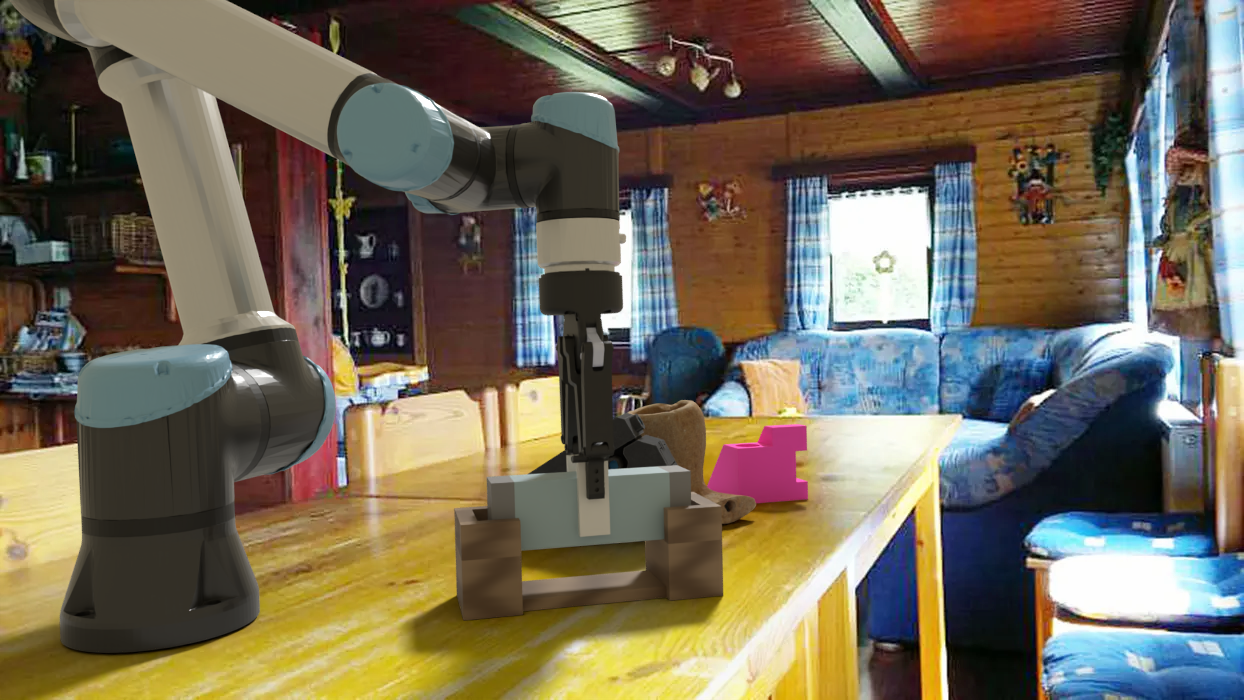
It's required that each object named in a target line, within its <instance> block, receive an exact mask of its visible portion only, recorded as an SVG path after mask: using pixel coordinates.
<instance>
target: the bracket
mask: <svg viewBox="0 0 1244 700" xmlns="http://www.w3.org/2000/svg"><path fill="white" fill-rule="evenodd" d="M807 427H808V426H807V425H804V424H799V423H795V424H794V423H793V424H778V425H777V424H776V425H764V426H763V428H762V431H761V434H760V435H759V438H758V439H757V442H742V443H728V444H727V443H726V444H723V445H722V447H721V451H720V452H719V455H718V457H717V460H716V463H715V465H714V468H713V470H712V473H711V476H710V477H709V480H708V483H707V484H706V486H707V487H708V488H709V489H711V490H713V491H715V492H719V493H726V494H734V495H743V496H749V497H752V498H754V499H755V502H756V504H763V503H764V504H765V503H776V502H789V501H799V500H800V501H801V500H802V501H803V500H804V501H805V500H808V499H809V483H808V480H805V479H802V478H798V477H797V452H802V451H803V452H805V451H808V433H807V432H808V429H807Z"/></svg>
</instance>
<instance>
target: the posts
mask: <svg viewBox="0 0 1244 700" xmlns="http://www.w3.org/2000/svg"><path fill="white" fill-rule="evenodd" d="M453 511H454V539H455V541H454V542H455V543H454V544H455V546H454V547H455V551H454V552H455V579H456V581H455V583H456V584H455V585H456V598H457V601H458V606H459V608H460V613H461V617H462V620H463V621H471V620H481V619H493V618H501V617H513V616H523V614H524V612H527V611H528V612H529V611H539V610H540V611H541V610H549V609H550V610H551V609H559V608H561V609H562V608H569V607H570V608H571V607H579V606H580V607H581V606H590V605H591V606H592V605H600V604H601V605H603V604H610V603H611V604H613V603H622V602H623V603H625V602H631V601H632V602H634V601H643V600H655V599H665V598H666V599H667V600H669V601H679V600H689V599H699V598H708V597H709V598H710V597H718V596H719V597H720V596H724V570H723V569H724V563H723V560H724V559H723V524H722V512H721V506H720V505H718V504H716V503H714V502H712V501H710V500H708V499H706V498H704V497H702V496H700V495H698V494H697V493H695V492H691V506H679V507H665V508H664V539H661V540H648V541H644V549H645V551H644V558H645V561H644V562H645V570H635V571H623V572H611V573H601V574H589V575H578V576H577V575H576V576H567V577H565V576H564V577H555V578H544V579H533V580H523V572H522V571H523V569H522V551H521V524H520V520H519V518H512V519H498V520H488V510H487V505H483V506H468V507H467V506H466V507H454V509H453Z"/></svg>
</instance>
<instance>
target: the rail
mask: <svg viewBox="0 0 1244 700" xmlns="http://www.w3.org/2000/svg"><path fill="white" fill-rule="evenodd" d="M608 477H609V507H610V534H608V535H596V536H585V537H580V536H579V531H578V502H577V472H576V471H575V472H558V473H542V474H528V473H527V474H525V473H524V474H513V475H512V474H510V475H497V476H496V475H495V476H486V501H487V502H486V506H487V510H488V520H498V519H512V518H519V520H520V524H521V552H523V551H533V550H545V549H546V550H547V549H559V548H560V549H561V548H571V547H580V546H581V547H583V546H584V547H585V546H594V545H596V546H597V545H609V544H619V543H620V544H621V543H633V542H634V543H635V542H645V541H648V540H661V539H664V508H665V507H679V506H691V471H689V470H687V469H685V468H682V467H680V466H678V465H674V466H657V467H641V468H624V469H608Z"/></svg>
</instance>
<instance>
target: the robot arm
mask: <svg viewBox="0 0 1244 700" xmlns="http://www.w3.org/2000/svg"><path fill="white" fill-rule="evenodd" d="M9 2H10V4H11V5H12V6H13V7H14V9H16V10H17V12H19V14H21V16H23V17H24V18H25V19H27V20H28V21H29V22H30V23H31V24H33V25H34V26H36V27H38V28H40V29H41V30H43V31H45V32H47V33H49V34H51V35H53V36H56V37H59V38H61V39H62V40H65V41H68V42H69V43H70V42H71V43H72V44H76V45H78V46H81V47H83V48H87V50H88V52H89V54H90V58H91V61H92V65H93V69H94V72H95V76H96V79H97V82H98V83H97V84H98V87H99V89H100V91H101V92H102V93H103V94H105V96H107V97H109V98H112V99H113V100H115V101H117V102H118V103H120V104H121V107H122V110H123V115H124V118H125V122H126V126H127V129H128V134H129V136H130V140H131V144H132V148H133V151H134V154H135V158H136V162H137V165H138V170H139V173H140V177H141V180H142V183H143V184H142V185H143V188H144V192H145V196H146V200H147V202H148V206H149V211H150V214H151V217H152V221H153V225H154V228H155V232H156V237H157V240H158V243H159V247H160V250H161V255H162V258H163V262H164V266H165V269H166V273H167V277H168V280H169V283H170V288H171V292H172V295H173V299H174V302H175V307H176V310H177V313H178V317H179V321H180V325H181V328H182V333H183V335H182V338H181V340H180V342H179V343H178V345H167V346H165V345H164V346H163V345H162V346H157V347H152V348H140V349H139V348H138V349H132V350H125V351H120V352H115V353H111V354H106V355H103V356H100V357H97V358H93V359H91V360H90V361H89V362H87V363H86V364H85V365H84V366H83V367H82V368H81V369H80V371H79V372H78V373H79V374H78V376H77V388H76V393H77V394H76V397H77V398H76V404H75V406H74V412H73V413H74V418H75V420H76V421H75V422H76V440H77V442H76V443H77V457H78V458H77V459H78V461H77V462H78V480H79V484H78V485H79V496H80V497H79V502H80V503H79V504H80V516H81V517H80V518H81V544H80V547H79V551H78V555H77V558H76V559H75V560H76V561H75V564H74V567H73V570H72V573H71V577H70V579H69V583H68V586H67V589H66V592H65V595H64V599H63V600H62V604H61V607H60V612H59V631H60V632H59V633H60V636H59V637H60V642H61V644H62V645H63V646H65V647H67V648H69V649H72V650H76V651H82V652H88V653H89V652H90V653H101V654H102V653H103V654H104V653H105V654H107V653H108V654H109V653H110V654H111V653H114V654H115V653H117V654H118V653H130V652H131V653H134V652H135V653H136V652H144V651H145V652H146V651H154V650H163V649H168V648H174V647H179V646H184V645H190V644H194V643H197V642H198V643H199V642H202V641H205V640H210V639H213V638H217V637H220V636H222V635H225V634H229V633H231V632H233V631H236V630H239V629H241V628H242V627H245V626H247V625H248V624H250V623H251V622H253V621H254V620H256V618H257V617H258V616H259V614H260V613H261V603H260V602H261V601H260V587H259V584H258V581H257V578H256V575H255V574H254V571H253V568H252V565H251V562H250V561H249V560H250V559H249V557H248V556H247V553H246V550H245V548H244V545H243V542H242V540H241V538H240V535H239V532H238V530H237V525H236V514H235V510H236V509H235V483H237V482H241V481H244V480H248V479H253V478H255V477H260V476H263V475H264V476H267V475H274V474H276V473H279V472H285V471H286V470H288V469H291V468H292V467H293V466H296V465H299V464H301V463H304V461H306V460H308V459H309V458H311V457H312V456H313V455H315V454H316V453H317V452H318V451H319V450H320V449H321V448H322V446H323V445H324V444H325V442H326V440H327V438H328V436H329V434H330V433H331V431H332V429H333V425H334V422H335V419H336V418H335V417H336V409H337V407H336V406H337V405H336V404H337V403H336V400H337V399H336V394H335V389H334V387H333V384H332V381H331V380H330V379H331V378H330V377H329V376H328V374H327V373H326V371H325V370H324V369H323V368H322V367H321V366H320V365H319V364H316V363H315V362H314V361H313V360H312V359H310V358H309V357H307V356H305V355H303V351H302V347H301V343H300V341H299V336H298V334H297V330H296V328H295V325H294V324H291V323H290V322H288V321H286V320H285V319H283V318H281V317H279V316H278V314H276V312H275V310H274V307H273V303H272V300H271V296H270V292H269V287H268V285H267V281H266V278H265V273H264V270H263V266H262V262H261V259H260V257H259V256H260V255H259V251H258V247H257V244H256V242H255V237H254V234H253V231H252V226H251V223H250V219H249V215H248V211H247V207H246V205H245V201H244V197H243V193H242V190H241V186H240V183H239V179H238V175H237V171H236V167H235V163H234V161H233V157H232V153H231V149H230V147H229V142H228V139H227V135H226V131H225V128H224V123H223V119H222V116H221V113H220V109H219V106H218V102H217V99H219V100H221V101H223V102H225V103H226V104H228V105H230V106H233V107H234V108H236V109H238V110H240V111H242V112H245V113H246V114H248V115H250V116H252V117H254V118H256V119H258V120H260V121H262V122H263V123H266V124H268V125H270V126H272V127H274V128H276V129H278V130H279V131H282V132H284V133H286V134H287V135H289V136H292V137H293V138H296V139H297V140H299V141H302V142H303V143H305V144H307V145H309V146H311V147H313V148H315V149H317V150H319V151H321V152H322V153H325V154H327V155H329V156H330V157H333V158H334V159H337V160H339V161H340V162H342V163H344V164H345V165H346V166H349V167H350V168H351V169H352V170H353V171H354V173H356V174H358V175H359V176H361V177H363V178H364V179H366V180H367V181H369V182H370V183H373V184H375V185H377V186H379V187H382V188H384V189H387V190H390V191H395V192H402V193H405V196H406V197H407V199H408V200H409V201H411V203H412V206H413V207H414V209H416V210H417V211H418V212H421V213H424V214H447V215H450V216H454V215H459V214H460V213H471V212H472V213H473V212H483V211H497V210H498V211H499V210H509V209H520V208H521V209H530V208H535V210H536V214H535V215H536V222H535V223H536V224H535V227H536V229H535V230H536V231H535V233H536V252H537V253H536V255H537V257H536V258H537V266H538V267H539V269H544V272H543V273H541V275H540V277H538V294H539V295H538V298H539V299H538V300H539V301H538V302H539V311H540V313H541V314H542V315H543V316H563V319H564V320H563V327H562V330H563V331H562V335H561V336H560V335H558V337H557V342H556V345H555V350H556V353H557V362H558V363H557V364H558V381H559V403H560V404H559V408H560V409H559V410H560V411H559V412H560V429H561V430H560V431H561V433H560V434H561V435H560V441H561V444H562V445H564V450H566V453H567V454H568V453H571V455H566V461H567V472H575V471H576V472H577V502H578V531H579V536H580V537H585V536H596V535H608V534H610V507H609V477H608V460H609V457H610V456H613V454H614V440H613V419H614V411H613V409H614V408H613V406H614V405H613V404H614V403H613V401H614V400H613V373H612V372H613V371H612V370H613V355H614V353H613V352H614V350H615V347H614V345H613V342H612V341H611V340H609V337H608V336H609V335H608V334H604V329H603V321H602V320H603V319H602V318H601V317H602V315H611V314H618V313H621V312H622V310H623V308H624V299H623V298H624V293H623V292H624V291H623V275H621V273H620V272H619V271H615V267H619V265H620V264H621V263H622V256H621V254H622V253H621V249H622V248H621V247H622V246H621V245H623V244H625V243H626V241H627V235H626V234H625V233H621V232H620V229H621V224H620V222H621V219H620V218H621V216H620V214H621V213H620V185H619V184H620V181H619V180H620V179H619V177H620V175H619V174H620V173H619V170H620V169H619V166H620V165H619V163H620V162H619V159H620V158H619V156H620V155H619V153H620V147H619V146H618V135H617V134H618V133H617V125H616V124H617V123H616V112H615V107H614V105H613V103H611V101H609V100H608V99H607V98H606V97H605V96H602V95H599V94H595V93H590V92H584V91H583V92H582V91H580V92H579V91H565V92H557V93H553V94H552V95H549V94H548V95H544V96H541V97H539V98H538V99H537V100H536V101H535V102H534V104H533V107H532V114H531V117H530V121H531V122H527V123H526V122H524V123H521V124H514V125H501V126H499V125H497V126H486V127H485V126H484V127H483V126H482V127H481V126H480V127H479V126H478V125H475V124H473V123H472V122H470V121H468V120H467V119H465V118H463V117H461V116H459V115H458V114H455V113H454V112H452V111H449V110H448V109H447V108H445V107H443V106H441V105H439V104H438V103H436V102H435V101H434V100H433V99H432V98H430V97H428V96H427V95H426V94H423V93H421V92H419V91H418V90H415V89H414V88H411V87H409V86H407V85H401V84H398V83H396V82H395V81H392V80H390V79H388V78H384V77H382V76H380V75H378V74H377V73H375V72H373V71H372V70H370V69H368V68H365V67H363V66H362V65H359V64H357V63H355V62H353V61H351V60H349V59H347V58H345V57H342V56H341V55H338V54H337V53H335V52H332V51H331V50H328V49H326V48H325V47H322V46H320V45H318V44H316V43H314V42H313V41H310V40H308V39H306V38H304V37H302V36H300V35H298V34H295V33H294V32H292V31H290V30H287V29H285V28H284V27H281V26H279V25H277V24H276V23H274V22H271V21H269V20H267V19H265V18H263V17H261V16H259V15H258V14H254V13H253V12H251V11H249V10H247V9H245V8H242V7H241V6H238V5H237V4H234V3H233V2H230V1H229V0H9Z"/></svg>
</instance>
